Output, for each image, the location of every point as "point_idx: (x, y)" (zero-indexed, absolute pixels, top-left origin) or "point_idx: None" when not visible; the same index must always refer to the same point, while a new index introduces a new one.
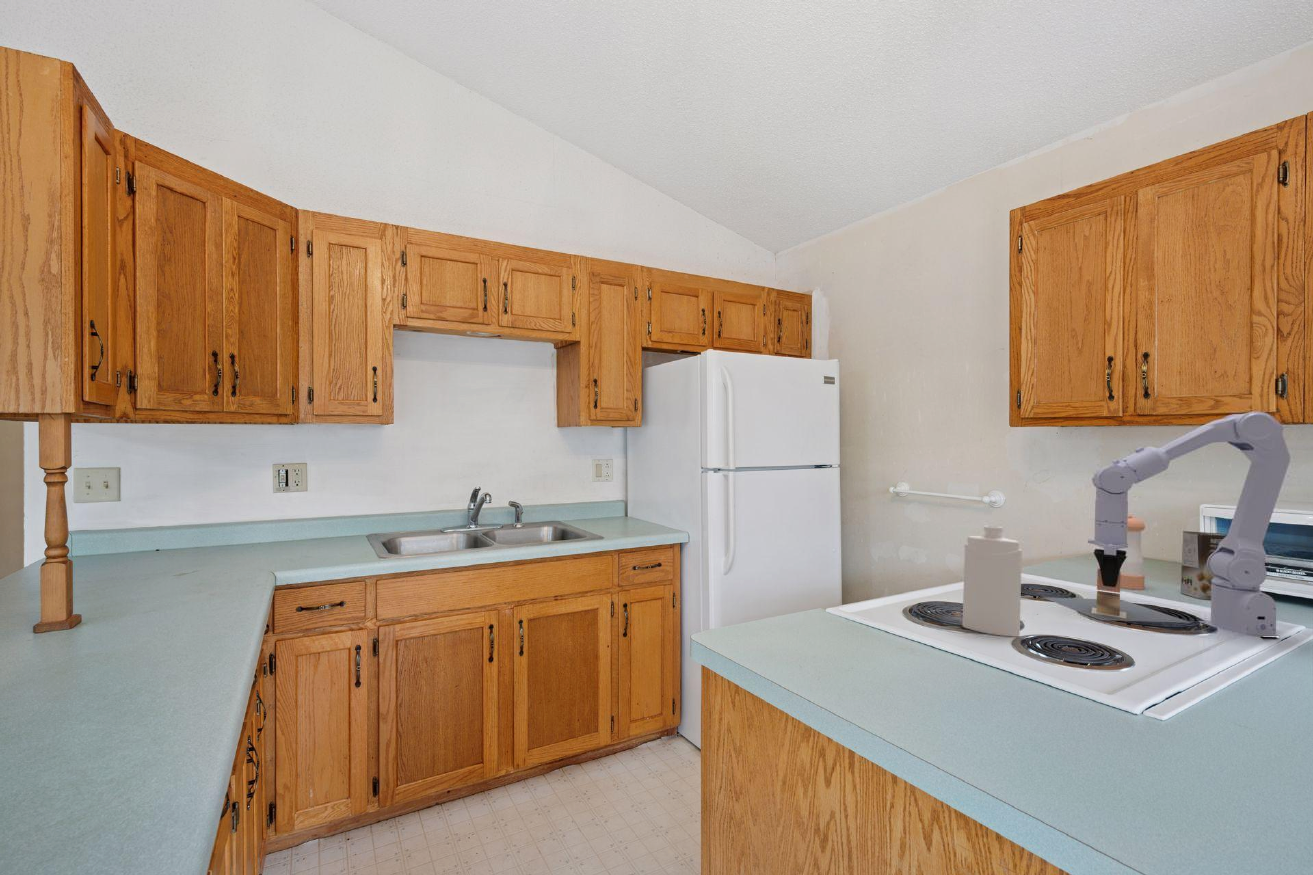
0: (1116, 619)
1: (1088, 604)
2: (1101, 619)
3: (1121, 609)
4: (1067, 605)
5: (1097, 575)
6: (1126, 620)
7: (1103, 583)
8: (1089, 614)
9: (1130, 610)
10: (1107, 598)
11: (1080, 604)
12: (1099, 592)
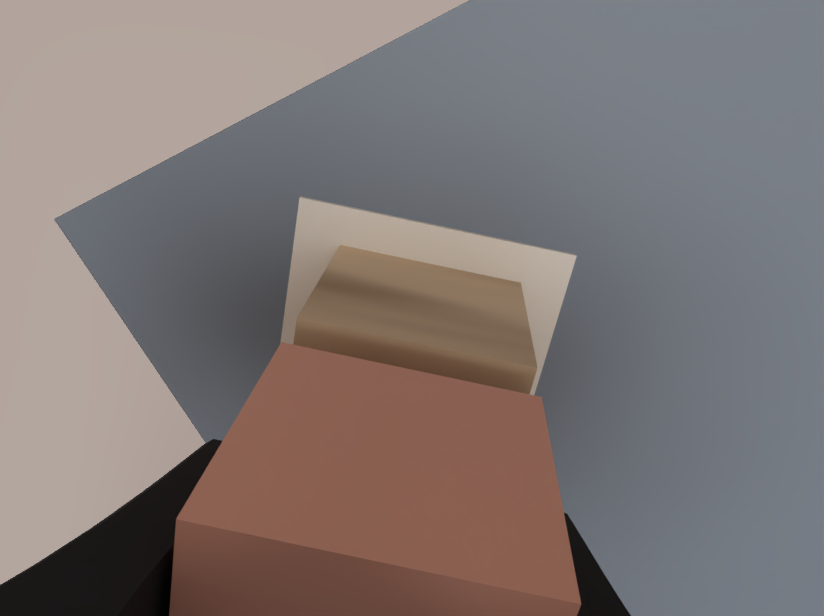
0: (172, 349)
1: (737, 251)
2: (76, 229)
3: (638, 481)
4: (564, 12)
5: (211, 462)
6: (192, 413)
7: (194, 454)
8: (222, 165)
9: (634, 535)
10: None
11: (699, 170)
12: (424, 368)
